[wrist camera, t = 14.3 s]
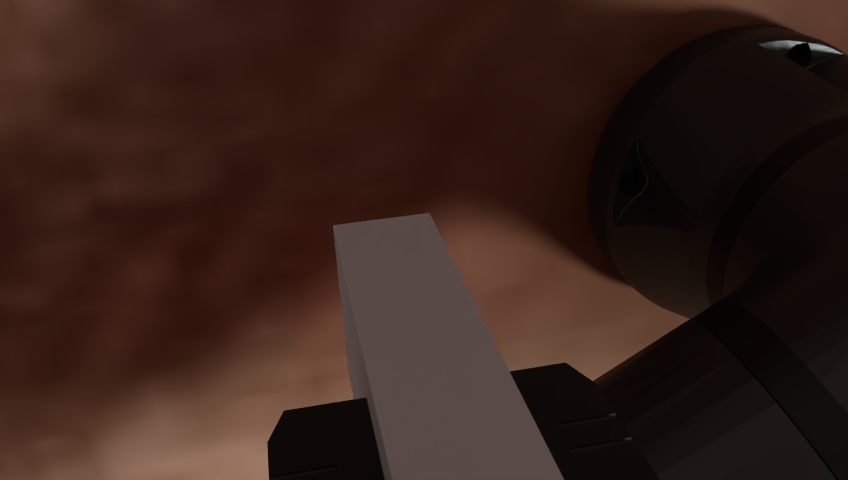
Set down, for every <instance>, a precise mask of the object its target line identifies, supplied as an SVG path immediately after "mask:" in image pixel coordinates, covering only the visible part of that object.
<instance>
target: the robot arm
mask: <svg viewBox="0 0 848 480" xmlns="http://www.w3.org/2000/svg"><path fill="white" fill-rule="evenodd" d="M589 201H590V213H591V219H592V224H593V228H594V231H595V234H596V237H597V239H598V242H599V244H600V246H601V248H602V250H603V252H604V253H605V255H606V256H607V258H608V260H609V261H610V262H611V263H612V265H613V266H614V267H615V268H616V269H617V270H618V271H619V273H620V274H621V275H622V276H623V277H624V278H625V279H626V280H627V282H628V283H629V284H630V285H631V286H632V287H633V288H634V289H635V290H636V291H638V292H639V293H640V294H641V295H643V296H644V297H645V298H647V299H648V300H650V301H651V302H653V303H655V304H656V305H658V306H660V307H662V308H664V309H666V310H669V311H671V312H674V313H676V314H679V315H681V316H684V317H686V318H689V319H690V320H688V321H686V322H685V323H683V324H682V325H680V326H678V327H677V328H675V329H674V330H672V331H671V332H669V333H667V334H666V335H664V336H663V337H661V338H660V339H658V340H657V341H655V342H653V343H652V344H650V345H649V346H647V347H646V348H644V349H642V350H641V351H639V352H638V353H636V354H635V355H633V356H632V357H630V358H628V359H627V360H625V361H624V362H622V363H621V364H619V365H618V366H616V367H614V368H613V369H611V370H610V371H608V372H607V373H605V374H603V375H602V376H600V377H599V378H597V379H596V380H594V381H591V380H590V379H589V378H587V377H586V376H584V375H583V374H581V373H580V372H578V371H577V370H575V369H574V368H573V367H571V366H570V365H568V364H567V363H560V364H554V365H548V366H541V367H535V368H529V369H523V370H516V371H510V372H509V370H508V368H507V366H506V364H505V362H504V360H503V358H502V356H501V354H500V352H499V350H498V348H497V346H496V344H495V342H494V340H493V338H492V336H491V334H490V332H489V330H488V328H487V326H486V324H485V322H484V320H483V318H482V316H481V314H480V312H479V310H478V308H477V306H476V304H475V302H474V300H473V298H472V296H471V294H470V292H469V290H468V288H467V286H466V284H465V282H464V281H463V279H462V277H461V275H460V273H459V271H458V269H457V267H456V265H455V263H454V261H453V259H452V257H451V255H450V253H449V251H448V249H447V247H446V245H445V243H444V241H443V239H442V237H441V235H440V233H439V231H438V229H437V227H436V225H435V223H434V221H433V219H432V217H431V215H430V213H425V214H417V215H410V216H402V217H394V218H386V219H378V220H370V221H362V222H354V223H346V224H339V225H333V232H334V241H335V251H336V260H337V269H338V279H339V288H340V297H341V306H342V316H343V325H344V334H345V343H346V353H347V362H348V371H349V377H350V382H351V387H352V392H353V397H354V400H348V401H341V402H335V403H329V404H323V405H317V406H311V407H304V408H298V409H292V410H286V411H284V412H283V414H282V416H281V417H280V419H279V421H278V423H277V425H276V427H275V429H274V431H273V433H272V435H271V437H270V439H269V440H268V466H269V480H848V55H847V54H845V53H844V52H842V51H841V50H839V49H838V48H836V47H834V46H832V45H830V44H828V43H826V42H824V41H821V40H819V39H816V38H813V37H810V36H807V35H804V34H801V33H798V32H795V31H792V30H789V29H785V28H780V27H774V26H759V25H756V26H743V27H735V28H731V29H726V30H722V31H719V32H715V33H712V34H710V35H707V36H704V37H702V38H700V39H697V40H695V41H693V42H691V43H689V44H687V45H686V46H684V47H682V48H680V49H679V50H677V51H675V52H674V53H672V54H671V55H669V56H668V57H667V58H665V59H664V60H662V61H661V62H660V63H659V64H657V65H656V66H655V67H654V68H653V69H651V70H650V71H649V72H648V73H647V74H646V75H645V76H644V77H643V78H642V79H641V80H640V81H639V82H638V83H637V84H636V85H635V86H634V88H633V89H632V90H631V91H630V92H629V94H628V95H627V96H626V97H625V99H624V100H623V102H622V103H621V104H620V106H619V107H618V109H617V110H616V112H615V113H614V115H613V117H612V119H611V120H610V122H609V124H608V126H607V128H606V130H605V132H604V134H603V136H602V139H601V141H600V144H599V147H598V150H597V153H596V156H595V159H594V163H593V168H592V173H591V179H590V193H589Z"/></svg>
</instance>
